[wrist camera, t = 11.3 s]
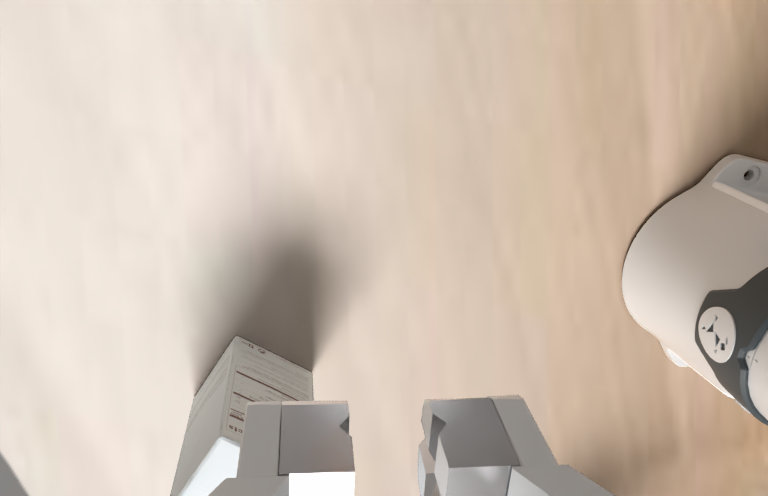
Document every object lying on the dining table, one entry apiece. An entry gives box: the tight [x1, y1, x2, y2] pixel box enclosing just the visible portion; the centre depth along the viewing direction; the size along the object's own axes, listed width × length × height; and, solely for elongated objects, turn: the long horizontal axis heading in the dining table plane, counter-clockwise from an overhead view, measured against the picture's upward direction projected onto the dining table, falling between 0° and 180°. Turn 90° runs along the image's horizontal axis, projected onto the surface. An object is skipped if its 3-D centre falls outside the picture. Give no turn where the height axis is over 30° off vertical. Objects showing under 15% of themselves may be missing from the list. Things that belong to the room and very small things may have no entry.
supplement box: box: [170, 336, 314, 496], centre depth 47 cm, size 7×7×13 cm
